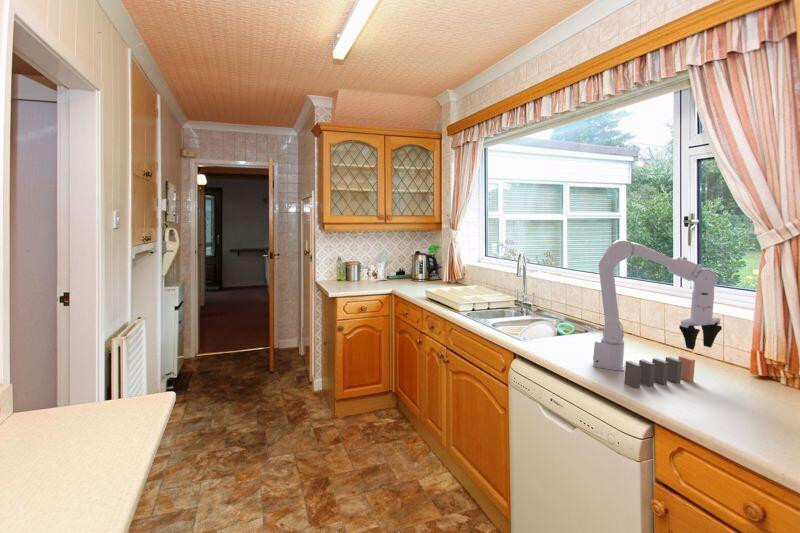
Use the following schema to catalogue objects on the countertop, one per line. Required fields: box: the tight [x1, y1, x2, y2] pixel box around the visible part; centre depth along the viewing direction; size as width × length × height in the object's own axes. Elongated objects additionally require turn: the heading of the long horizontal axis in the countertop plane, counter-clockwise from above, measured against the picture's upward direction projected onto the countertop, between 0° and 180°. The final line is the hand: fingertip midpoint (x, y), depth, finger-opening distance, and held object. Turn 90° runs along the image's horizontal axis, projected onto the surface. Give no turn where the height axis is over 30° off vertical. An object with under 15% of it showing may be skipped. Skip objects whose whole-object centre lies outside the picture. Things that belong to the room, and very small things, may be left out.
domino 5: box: [677, 355, 696, 383], centre depth 140 cm, size 2×4×7 cm, turn 16°
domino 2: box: [638, 359, 655, 387], centre depth 135 cm, size 2×4×7 cm, turn 16°
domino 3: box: [651, 357, 668, 386], centre depth 137 cm, size 2×4×7 cm, turn 16°
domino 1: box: [623, 360, 641, 389], centre depth 134 cm, size 2×4×7 cm, turn 16°
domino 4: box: [664, 356, 682, 384], centre depth 138 cm, size 2×4×7 cm, turn 16°
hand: (698, 347), depth 140 cm, fingers open, 7 cm apart
